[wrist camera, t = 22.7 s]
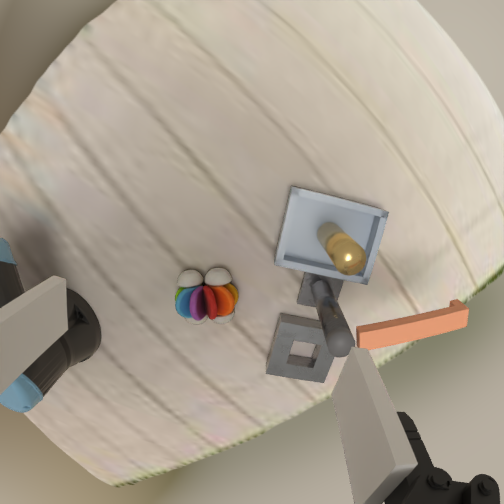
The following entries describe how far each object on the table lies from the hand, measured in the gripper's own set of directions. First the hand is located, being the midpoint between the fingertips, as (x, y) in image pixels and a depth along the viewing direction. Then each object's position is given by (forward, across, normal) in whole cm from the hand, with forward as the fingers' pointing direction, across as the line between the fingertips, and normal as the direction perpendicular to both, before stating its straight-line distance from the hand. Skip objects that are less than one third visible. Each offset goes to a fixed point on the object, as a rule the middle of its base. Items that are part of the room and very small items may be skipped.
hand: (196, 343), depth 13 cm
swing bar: (+20, +20, -6) cm, 29 cm away
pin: (+34, +12, 0) cm, 36 cm away
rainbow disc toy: (+35, -4, -13) cm, 38 cm away
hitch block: (+35, +13, -19) cm, 42 cm away
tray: (+35, +12, 0) cm, 37 cm away
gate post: (+35, +13, -8) cm, 38 cm away
